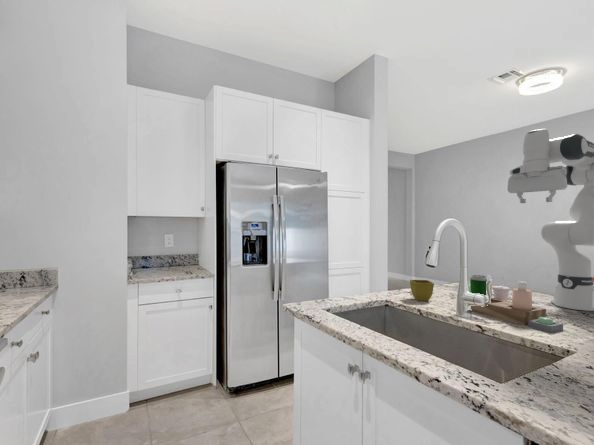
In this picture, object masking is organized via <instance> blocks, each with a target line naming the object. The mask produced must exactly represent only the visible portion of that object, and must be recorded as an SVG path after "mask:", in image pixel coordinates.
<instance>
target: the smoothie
mask: <svg viewBox="0 0 594 445" xmlns="http://www.w3.org/2000/svg"><path fill="white" fill-rule="evenodd" d="M491 289H492V290H493V292H492V293H493V296H494V297H493V298H497V299H502V300H506V301H508V297H509V291H510V290H511V289H510V287H508V286H504V277H503V276H501V285H492V288H491Z"/></svg>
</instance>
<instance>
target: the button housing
mask: <svg viewBox="0 0 594 445" xmlns="http://www.w3.org/2000/svg"><path fill="white" fill-rule="evenodd" d="M527 326H528V327H529V328H532V329H536V330H539V331H543V332H547V333H556V332H562V331H564V323H559V322H556V321H553V324H552V325H547V324H543V323H539V322H538V319H535V320H530V321H529V324H528V325H527Z"/></svg>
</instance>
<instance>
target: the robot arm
mask: <svg viewBox="0 0 594 445" xmlns="http://www.w3.org/2000/svg"><path fill="white" fill-rule="evenodd" d="M522 148H523V149H522V153H523V160H522V165H519V166H517V167H515V168H513V169H511V170H509V175H510V176H509V178H508V181H507V192H508V193H509V194H516V196H517V198H518V199H519V203H520V204H526V201H527V198H524V197H523V196H524V194H525V193H534V192H535V193H536V192H548V193H550V194H549V195H548V197H545V202H546V203H553V198H554V197H555V195H556V194H557V191H562V190H566V189H567V188H568V186H583V187H582V189H581V190H580V191H579V192H578V193H577V195H576V196H575V198H574V201H573V202H572V205H571V206H570V208H569V215H570V218H572V219H573V220H557V221H552V222H550V221H549V222H546V223H545V224H544V225H543V226H542V228H541V229H540V230H541V232H540V234H541V237H542V239H543V241H545V243H547V244H549V245H550V246H551V247H552V248H553V250H554V251H555V253H556V255H557V259H558V274H557V282H558V283H557V284H556V285H555V286H554V289H553V290H554V291H553V299H552V300H551V299H550V303H551V304H553V305H555V306H557V307H561V308H565V309H570V310H576V311H577V310H578V311H589V312H594V277H593V276H592V261H591V259H590V258H589V257H588V256H587V255H586V254H583V253H581V252H579V251H578V250H577V247H576V246H587V247H591V246H592V247H594V142H592V141H590V140H587V139H586V137H585V136H583V135H582V134H579V133H575V134H574V133H573V134H571V135H567V136H564V137H563V136H562V137H557V138H553V139H551V138H550V134H549V130H548V128H540V129H534V130H530V131H528V132H526V133H525V135H524V138H523V147H522ZM560 162H561V164H564V165H565V166H563V165H558V166H550V164H553V163H560Z"/></svg>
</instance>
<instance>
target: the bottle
mask: <svg viewBox="0 0 594 445" xmlns="http://www.w3.org/2000/svg"><path fill="white" fill-rule="evenodd" d="M527 283H528V282H526V281H517V288H512V289H511V290H512V294H511V295H512V300H511V302H512V308H516V309H521V310H525V311H528V310H532V306H533V290H530V289H527V288H528V284H527Z"/></svg>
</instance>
